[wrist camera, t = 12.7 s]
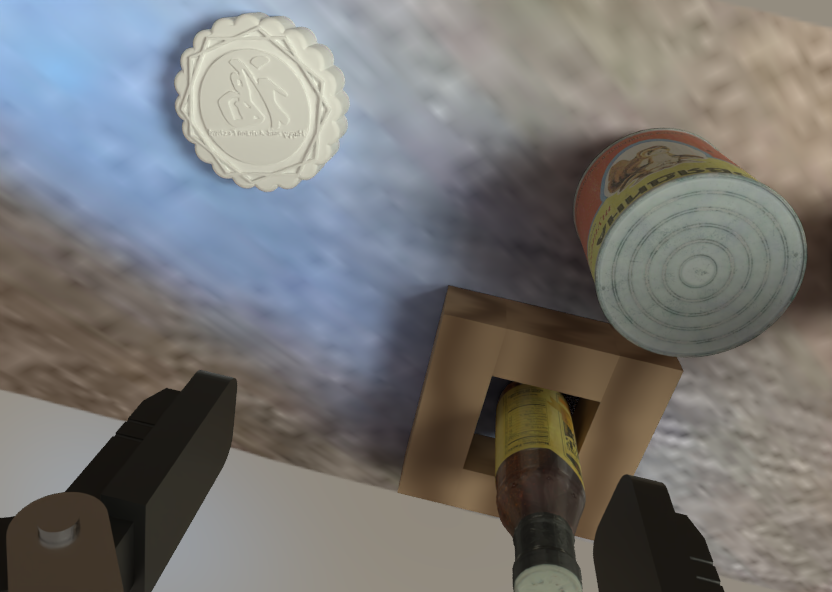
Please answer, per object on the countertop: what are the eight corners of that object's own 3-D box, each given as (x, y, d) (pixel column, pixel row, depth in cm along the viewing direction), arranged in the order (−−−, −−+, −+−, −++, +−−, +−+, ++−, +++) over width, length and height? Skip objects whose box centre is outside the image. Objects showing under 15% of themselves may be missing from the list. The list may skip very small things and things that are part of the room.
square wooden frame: (667, 337, 51) (683, 371, 46) (593, 500, 59) (601, 542, 54) (448, 285, 51) (443, 313, 47) (405, 454, 59) (397, 492, 55)
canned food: (706, 99, 43) (776, 136, 32) (753, 240, 47) (829, 316, 36) (549, 171, 46) (564, 226, 35) (605, 297, 50) (634, 382, 39)
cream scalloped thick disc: (345, 10, 43) (332, 12, 40) (355, 182, 48) (345, 196, 45) (178, 13, 45) (153, 15, 41) (205, 180, 50) (185, 193, 47)
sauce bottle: (561, 435, 56) (591, 642, 38) (491, 426, 57) (487, 627, 39) (575, 373, 53) (613, 566, 35) (500, 364, 54) (501, 550, 36)
